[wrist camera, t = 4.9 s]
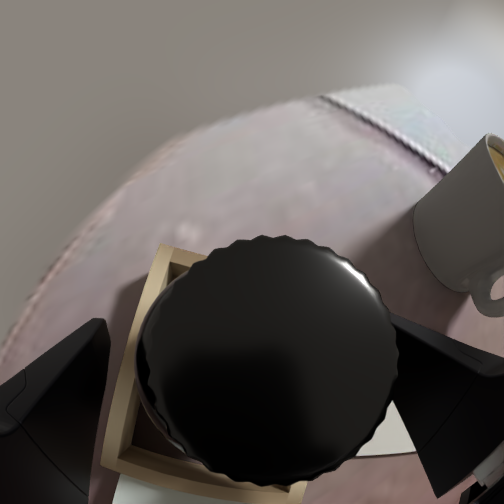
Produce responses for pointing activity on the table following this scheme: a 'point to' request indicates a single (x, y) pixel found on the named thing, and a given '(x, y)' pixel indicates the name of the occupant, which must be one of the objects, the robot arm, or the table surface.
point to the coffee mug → (467, 225)
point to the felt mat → (389, 436)
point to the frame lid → (157, 494)
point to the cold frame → (127, 404)
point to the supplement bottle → (268, 361)
